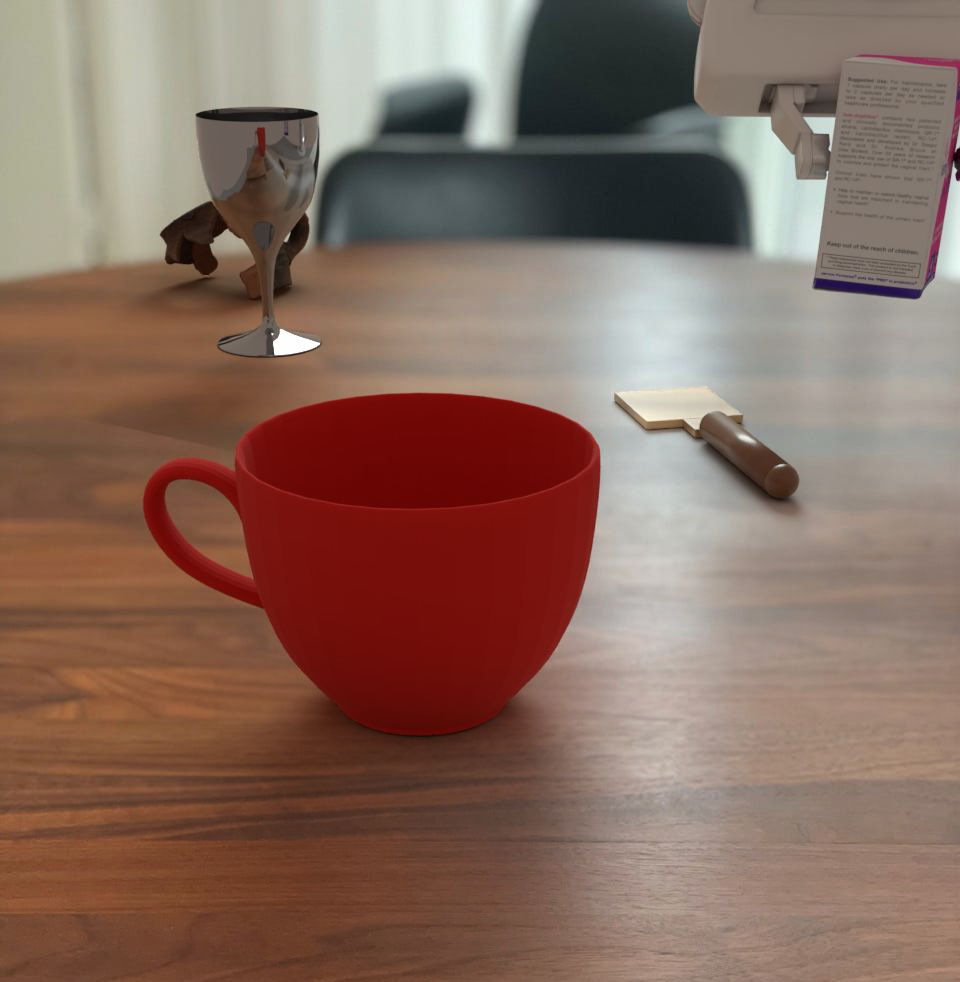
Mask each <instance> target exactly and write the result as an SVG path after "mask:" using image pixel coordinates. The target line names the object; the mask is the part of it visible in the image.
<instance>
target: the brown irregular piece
mask: <svg viewBox="0 0 960 982" xmlns="http://www.w3.org/2000/svg"><path fill="white" fill-rule="evenodd" d="M310 229H311V227H310V219H309V216H308V215H307V212H305V213H304V214H303V216H302V217H301V218H300V220H299V221H298V222H297V224H296V225H295V226H294V228H293V229H292V230H291V232H290V233H289V235H288V239H287V240H286V241H284V242H283V244H282V245H281V247H280V249H279V252H278V254H277V257H276V262H275V270H274V284H273V291H274V290H276V289H280V288H287V287H290V286H289V285H291V286H292V285H293V279H292V273H291V266H292V262H293V261H294V259H295V258H296V256H297V255H298V254H300V252H302V251H303V250H304V248H305V247H306V244H307V243H308V240H309V237H310V232H311V231H310ZM226 230H228V231H229V232H230V233H232V235H234V236H235V237H236V238H238V239H241V240H243V239H242V238H241V237H240V236H239V235H238V233H237V232H236V231H235V230H234V229H233V228H232V227H231V226H230V225H229V223H228V222H227V221H226V220H225V219H224V218H223V217H222V216H221V215H220V214H219V212H218V211H217V209H216V208H215V207H214V205H213V203H212V201H211V200H208V201H205V202H203V203H201V204H199V205H197V206H195V207H194V208H191V209H190V210H188V211H186V212H184V213H183V214H181V215H180V216H179V217H177V218H176V219H173V220H172V221H171V222H170V223H169V224H167V225H166V226H165V227H164V228H163V229H162V230H161V231H160V233H159V237H160V238H161V239H162V240H163V242H164V244H165V246H166V248H165V253H164V261H165V263H166V264H167V265H169V266H170V265H174V264H178V265H186V266H187V265H193V267H194V269H195V270H196V271H198V273H200V275H201V276H203V275H209V276H210V274H212V273H214V272H215V271H216V270H217V269H218V267H219V261H218V259H217V257H216V256H215V255H214V254H213V251H212V247H211V245H212V244H214V243H215V238H217V237H219V236H221V235H222V234H223V233H224V232H225V231H226ZM239 278H240V280H241V282H242V283H243V285H244V286H245V289H246V292H247V294H248V296H249V299H250V300H255V299H256V298H259V297H261V289H260V283H259V277H258V272H257V267H256V263H255V262H254V264H253V265H251V266H249V267H247V268H246V269H244V270H242V271H240V272H239Z"/></svg>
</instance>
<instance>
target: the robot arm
mask: <svg viewBox="0 0 960 982" xmlns="http://www.w3.org/2000/svg"><path fill="white" fill-rule="evenodd" d="M686 3H687V10H688V14H689V16H690V18H691V20H692V21H693V23H694V24H696V25H697V26H698V27H699V28H700V30H699V36H698V41H697V47H696V54H695V63H694V72H693V73H694V75H693V98H694V101H695V103H696V104H697V105H698V106H699V107H700V108H701V109H702V110H703V112H705V113H706V114H707V115H708V116H710V117H739V118H740V117H741V118H742V117H746V118H747V117H748V118H749V117H750V118H753V117H754V118H770V126H771V127H770V128H771V131H772V133H773V134H774V135H775V136H776V137H777V138H778V140H779V141H780V142H781V143H782V145H783V146H784V147H785V148H786V149H787V150H788V152H789V153H790V154H791V155H792V156H794V166H795V167H794V170H795V179H796V180H798V181H808V180H809V181H812V180H815V181H816V180H820V181H821V180H826V179H827V177H828V171H829V163H830V155H831V150H830V147H831V141H830V140H831V139H830V138H831V137H830V133H817V132H816V133H815V132H814V131H813V129H812V128H811V126H810V125H809V124H808V122H807V120H806V119H805V118H834V119H835V117H836V109H837V101H838V94H839V86H840V79H841V71H842V63H843V61H844V60H847V59H849V58H852V57H855V56H858V55H861V54H869V55H888V56H906V57H925V58H944V59H959V60H960V0H687V1H686ZM953 168H954V169H955V170H956V172H955V174H954V177H955V181H956V182H960V146H959V147H957V148H956V150H955V155H954V163H953Z"/></svg>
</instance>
